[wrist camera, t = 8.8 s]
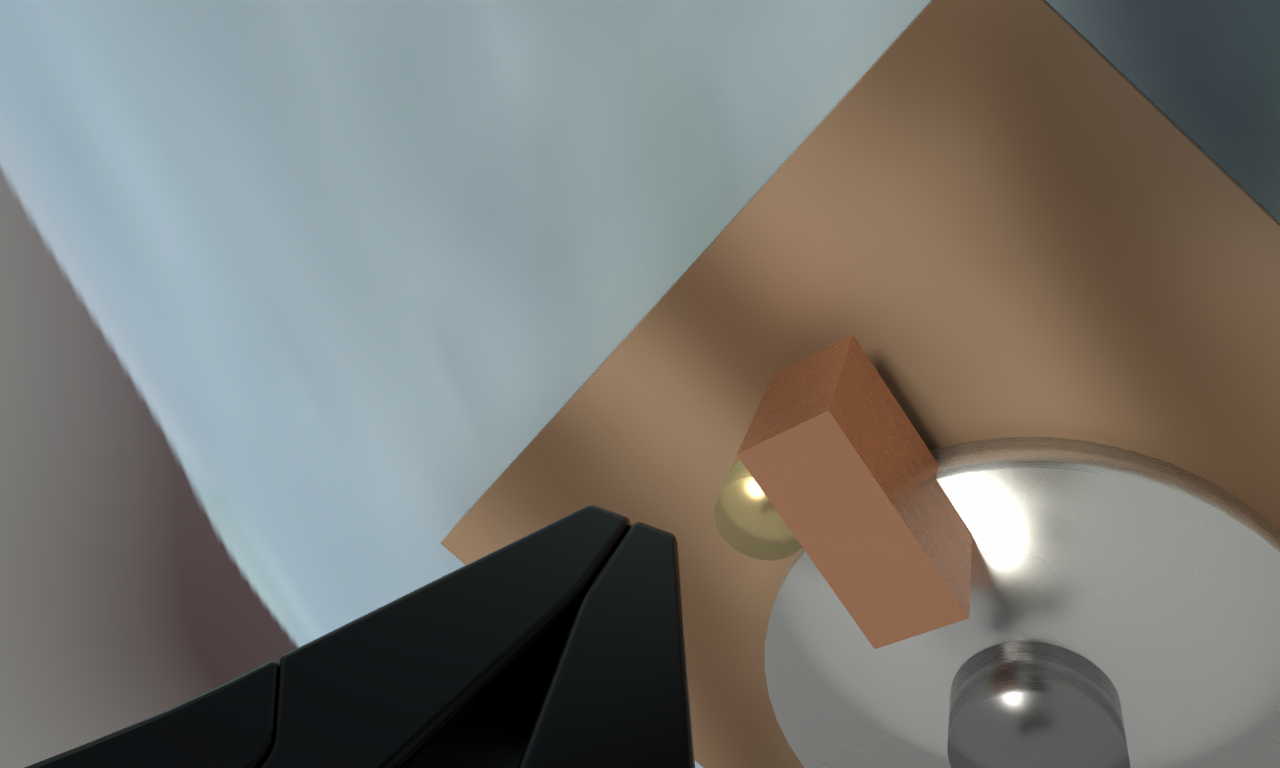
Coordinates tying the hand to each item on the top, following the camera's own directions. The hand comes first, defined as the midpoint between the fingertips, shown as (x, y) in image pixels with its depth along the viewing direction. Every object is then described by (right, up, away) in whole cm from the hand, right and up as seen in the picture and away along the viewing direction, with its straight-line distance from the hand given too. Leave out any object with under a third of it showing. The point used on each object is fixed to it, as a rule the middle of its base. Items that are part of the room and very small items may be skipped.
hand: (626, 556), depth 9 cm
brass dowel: (+3, 0, +12) cm, 12 cm away
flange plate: (+8, -3, +12) cm, 14 cm away
